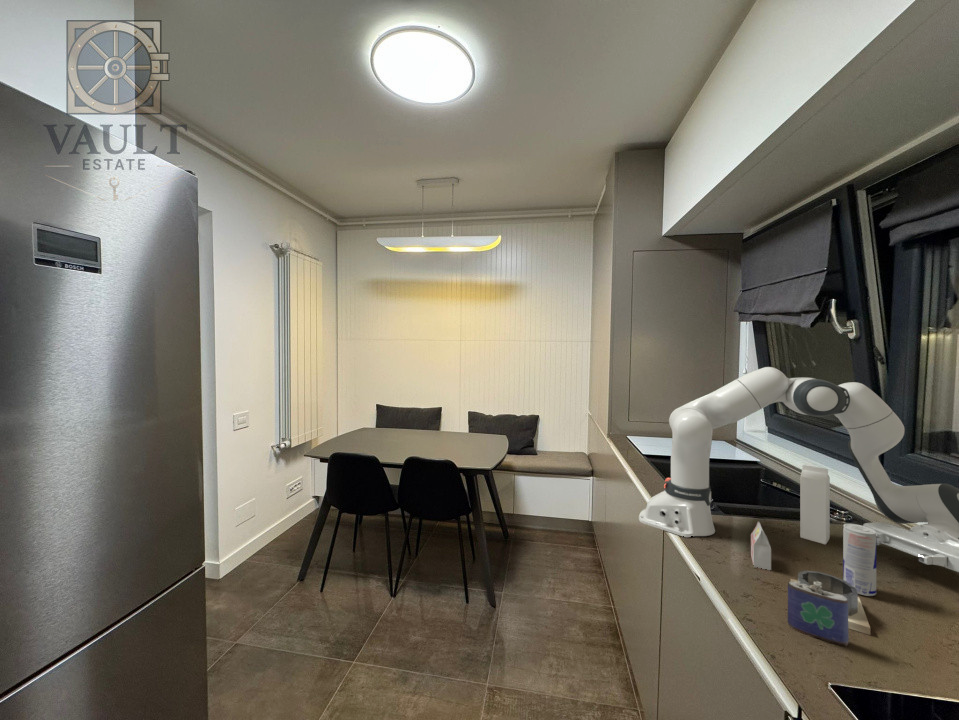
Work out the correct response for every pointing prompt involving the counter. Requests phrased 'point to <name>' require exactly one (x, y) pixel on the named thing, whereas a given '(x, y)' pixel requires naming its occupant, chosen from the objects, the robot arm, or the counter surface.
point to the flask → (818, 612)
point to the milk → (815, 504)
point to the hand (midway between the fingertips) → (896, 549)
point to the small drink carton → (760, 548)
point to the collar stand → (839, 586)
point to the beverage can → (860, 558)
